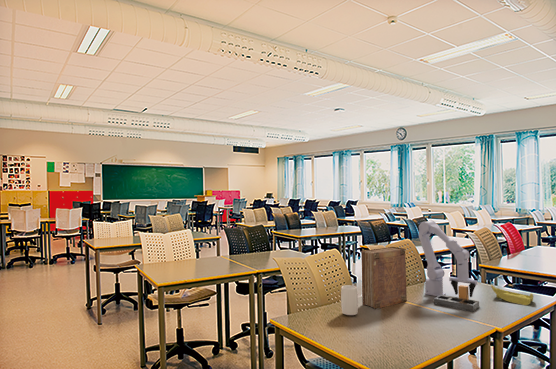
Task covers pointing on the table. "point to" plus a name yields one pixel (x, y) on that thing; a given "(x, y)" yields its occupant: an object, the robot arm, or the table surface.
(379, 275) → the book
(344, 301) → the cup
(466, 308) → the grey compartment tray
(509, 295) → the banana
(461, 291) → the peg
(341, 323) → the table surface
